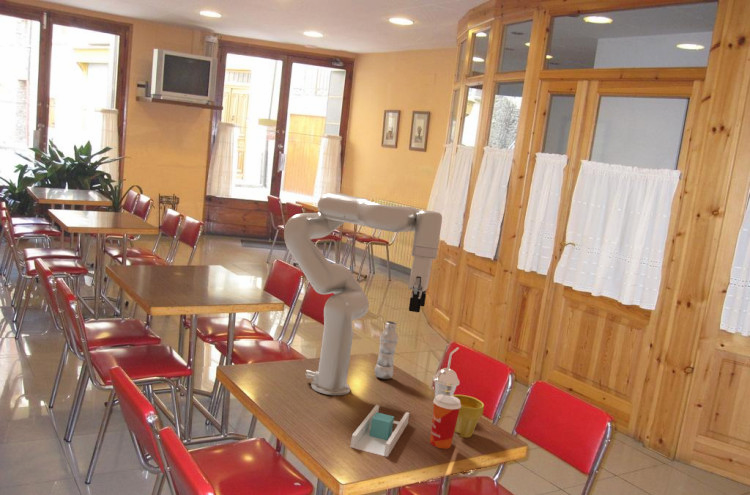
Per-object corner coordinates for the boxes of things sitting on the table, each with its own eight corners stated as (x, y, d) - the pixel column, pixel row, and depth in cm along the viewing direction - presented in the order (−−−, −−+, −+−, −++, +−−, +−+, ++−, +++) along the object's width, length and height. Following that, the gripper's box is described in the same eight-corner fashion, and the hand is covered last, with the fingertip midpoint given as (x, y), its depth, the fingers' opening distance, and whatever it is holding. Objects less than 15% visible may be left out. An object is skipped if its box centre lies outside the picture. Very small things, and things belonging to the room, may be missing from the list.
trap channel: (349, 451, 168) (352, 434, 167) (373, 419, 191) (376, 404, 190) (387, 461, 166) (389, 444, 165) (406, 427, 189) (409, 412, 188)
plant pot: (482, 432, 194) (488, 401, 192) (473, 444, 184) (479, 411, 183) (449, 422, 198) (454, 391, 196) (438, 433, 188) (444, 400, 187)
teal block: (369, 435, 176) (372, 418, 176) (374, 429, 181) (376, 412, 180) (387, 440, 175) (389, 422, 174) (391, 433, 180) (394, 416, 179)
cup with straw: (422, 406, 207) (432, 345, 205) (444, 404, 212) (454, 345, 210) (438, 417, 200) (449, 354, 198) (461, 414, 205) (471, 353, 203)
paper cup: (425, 439, 182) (433, 391, 180) (452, 443, 182) (460, 396, 180) (426, 451, 174) (434, 402, 173) (455, 456, 174) (463, 406, 173)
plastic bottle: (379, 381, 225) (387, 325, 222) (370, 374, 231) (378, 319, 228) (395, 381, 228) (404, 325, 225) (386, 374, 234) (394, 320, 231)
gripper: (416, 247, 203) (409, 301, 205) (407, 253, 186) (399, 311, 188) (440, 251, 202) (432, 305, 204) (433, 257, 185) (424, 316, 187)
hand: (416, 308), depth 196 cm, fingers open, 9 cm apart
